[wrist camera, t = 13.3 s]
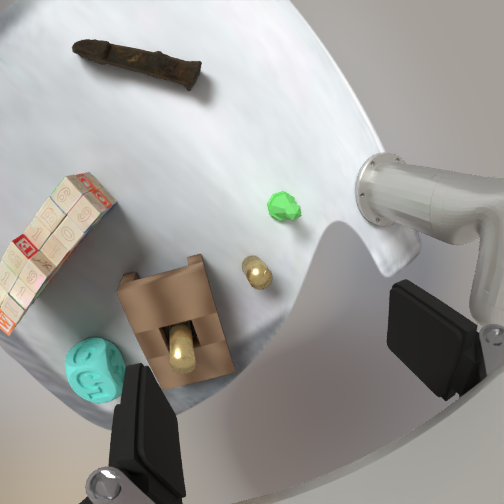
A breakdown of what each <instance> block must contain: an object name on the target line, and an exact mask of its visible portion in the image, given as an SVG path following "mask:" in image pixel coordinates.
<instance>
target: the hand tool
mask: <svg viewBox="0 0 504 504" xmlns="http://www.w3.org/2000/svg"><path fill="white" fill-rule="evenodd" d="M72 49H73V52H74V53H76V54H78V55H80V56H81V57H83V58H87V59H88V60H91V61H95V62H97V63H100V64H109V65H113V66H117V67H120V68H125V69H128V70H132V71H136V72H141V73H144V74H147V75H151V76H153V77H156V78H159V79H164V80H169V81H172V82H176V83H179V84H181V85H184V86H185V87H186V88H187V90H188V91H190V90H191V88H192V87H193V85H194V84H195V82H196V80H197V78H198V76H199V74H200V71H201V70H200V69H201V64H202V62H201V61H191V62H190V61H184V60H181V59H177V58H173V57H170V56H168V55H165V54H163V53H162V52H160V51H157V52H149V51H145V50H141V49H136V48H131V47H125V46H120V45H115V44H110V43H109V42H107V41H98V40H90V39H86V40H81V41H78V42H76V43H74V45H73V46H72Z"/></svg>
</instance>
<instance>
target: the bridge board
mask: <svg viewBox="0 0 504 504" xmlns="http://www.w3.org/2000/svg"><path fill="white" fill-rule="evenodd" d="M187 258H188V266H186V267H182V268H179V269H175V270H171V271H168V272H164V273H160V274H157V275H153V276H149V277H146V278H142V279H138V276H137V274H136V271H135V272H132V273H128V274H125V275H123V277H122V280H121V282H120V285H119V288H118V290H117V295H118V297H119V300H120V302H121V304H122V307H123V309H124V312H125V314H126V316H127V318H128V321H129V323H130V325H131V327H132V330H133V332H134V334H135V336H136V338H137V340H138V342H139V345H140V347H141V349H142V351H143V353H144V355H145V357H146V359H147V361H148V363H149V365H150V367H151V369H152V371H153V373H154V374H155V376H156V378H157V380H158V382H159V384H160V386H161V387H162V389H163V390H165V389H170V388H174V387H179V386H183V385H187V384H191V383H195V382H199V381H203V380H207V379H211V378H215V377H219V376H223V375H226V374H230V373H233V372H235V369H234V366H233V362H232V359H231V356H230V353H229V349H228V346H227V343H226V340H225V336H224V333H223V330H222V327H221V323H220V320H219V317H218V313H217V310H216V306H215V303H214V300H213V296H212V293H211V289H210V286H209V282H208V279H207V275H206V271H205V268H204V264H203V260H202V257H201V254H197V255H194V256H190V257H187ZM187 320H192V323H193V325H194V328H195V331H196V334H197V338H193V339H192V340H193V348H194V355H195V362H196V366H195V368H194V370H193V371H191V372H190V373H187V374H179V373H176V372H175V371H173V370H172V369H171V367H170V345H169V342H168V340H167V337H166V335H165V333H164V330H163V328H162V327H164V326H168V325H172V324H176V323H180V322H184V321H187Z"/></svg>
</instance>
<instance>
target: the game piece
mask: <svg viewBox="0 0 504 504" xmlns="http://www.w3.org/2000/svg"><path fill="white" fill-rule="evenodd" d="M267 205H268V210H269V214H270V215H271V216H273V217H275V218H276V219H278V220H280V221H282V220H285V219H288V218H289V219H291V220H292V221H293V220H295V219H297V218H298V217H300V216H301V209H300V206H299V205H297V204H295V199H294V197H293V196H291V195H289V194H288V193H286V192H284V191H282V192H278V193H275V194H273V195H272V196H271V198H270V200H269V201H268V203H267Z"/></svg>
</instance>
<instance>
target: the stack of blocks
mask: <svg viewBox="0 0 504 504" xmlns="http://www.w3.org/2000/svg"><path fill="white" fill-rule="evenodd" d="M116 202H117V201H116V200H115V199H114V198H113V197H112V196H111V195H110V194H109V193H108V192H107V191H106V190H105V189H104V188H103V186H102V185H101V184H100V183H99V182H98V181H97V180H96V179H95V177H94V176H93V175H92V174H91V173H89V172H88V173H84V174H78V175H70V176H66V177H65V178H64V179H63V180H62V181H61V183H60V184H59V185H58V187H57V188H56V189H55V190H54V192H53V193H52V194H51V196H50V197H49V198H48V199H47V200H46V202H45V203H44V204H43V206H42V207H41V209H40V210H39V211H38V213H37V214H36V216H35V217H34V218H33V220H32V221H31V223H30V224H29V226H28V227H27V229H26V230H25V232H24V234H22V235H20V236H19V237H17V238H16V239H14V240H13V241H12V242H11V244H10V245H9V247H8V249H7V250H6V252H5V254H4V256H3V258H2V261H1V262H0V328H1V329H2V330H3V331H4V332H5V333H6V334H7V335H8V336H10V334H11V333H12V331H13V330H14V328H15V327H16V325H17V324H18V323H19V322H20V320H21V319H22V317H23V316H24V315H25V313H26V312H27V310H28V309H29V307H30V306H31V304H33V303H34V301H35V300H36V299H37V297H38V296H39V295H40V294H41V292H42V291H43V290H44V288H45V287H46V286H47V285H48V283H49V282H50V281H51V279H52V278H53V277H54V276H55V274H56V273H57V272H58V271H59V269H60V268H61V267H62V266H63V264H64V263H65V262H66V259H67V258H68V257H69V256H70V254H71V253H72V252H73V251H74V250H75V248H76V247H77V245H78V244H79V243H80V242H81V241H82V239H83V238H84V237H85V236H86V235H87V234H89V233H90V232H91V230H92V229H93V228H94V227H95V226H96V225H97V224H98V223H99V222H100V220H101V219H102V218H103V217H104V215H105V214H106V213H107V212H108V211H109V210H110V209H111V208H112V207H113V206H114V205H115V204H116Z"/></svg>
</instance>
